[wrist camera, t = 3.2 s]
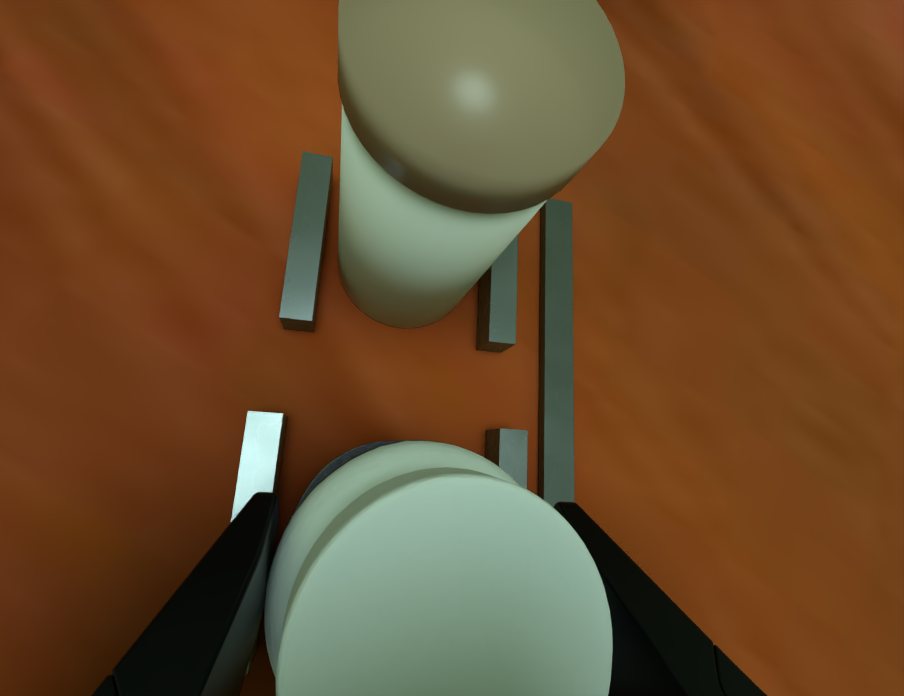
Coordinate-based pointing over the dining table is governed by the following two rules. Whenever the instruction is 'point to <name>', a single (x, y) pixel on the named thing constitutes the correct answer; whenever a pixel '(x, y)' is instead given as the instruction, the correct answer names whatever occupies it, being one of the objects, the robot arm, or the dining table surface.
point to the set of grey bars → (492, 335)
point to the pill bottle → (432, 584)
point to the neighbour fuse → (460, 137)
